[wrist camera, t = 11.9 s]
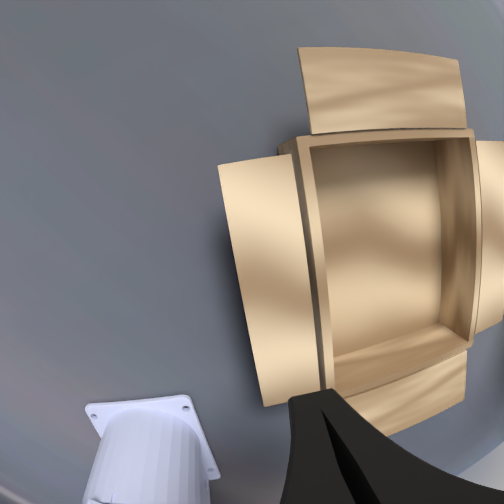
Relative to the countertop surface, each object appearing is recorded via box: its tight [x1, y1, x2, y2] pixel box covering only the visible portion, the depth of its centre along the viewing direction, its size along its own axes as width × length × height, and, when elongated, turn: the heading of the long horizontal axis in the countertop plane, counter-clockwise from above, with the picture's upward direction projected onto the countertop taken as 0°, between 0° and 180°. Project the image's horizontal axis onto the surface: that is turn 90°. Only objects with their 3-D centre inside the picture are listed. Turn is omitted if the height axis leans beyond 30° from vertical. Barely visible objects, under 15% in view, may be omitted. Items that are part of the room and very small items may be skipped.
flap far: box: [343, 350, 467, 437], centre depth 17 cm, size 1×10×4 cm
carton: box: [218, 128, 504, 407], centre depth 17 cm, size 14×18×4 cm
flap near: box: [297, 47, 467, 134], centre depth 13 cm, size 1×10×4 cm
